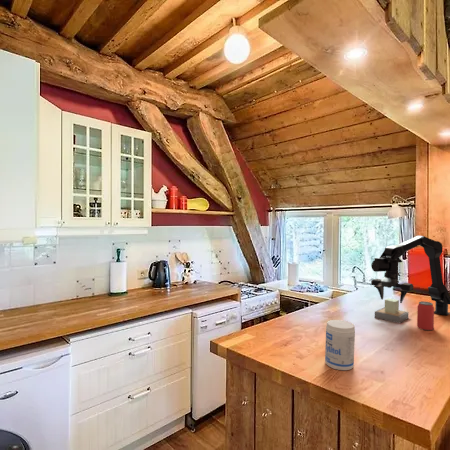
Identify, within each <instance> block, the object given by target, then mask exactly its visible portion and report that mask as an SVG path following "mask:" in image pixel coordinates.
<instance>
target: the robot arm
mask: <svg viewBox="0 0 450 450" xmlns="http://www.w3.org/2000/svg"><path fill="white" fill-rule="evenodd" d="M419 246H420V247H421V248H423V250H424V253H425V255H426V256H427V257H428V262H429V270H430V276H431V278H430V279H431V284H430V285H429V286H428V287H427V289H428V295H429V296H430V298H431V301H432V302H435V304H434V306H435V307H434V315H436V314H437V315H441V316H445V317H446V316H449V315H450V312H449V305H450V295H449V291H448V288H447V287H446V285H445V284H444V281H443V274H442V265H441V256H442V254H443V243H442V242H441V241H438V240H434V239H432V238H429V237H427V236H426V235H425V236H424V235H416V236H414V237H412V238H410V239H408V240H406V241H403V242H402V243H399V244H391V245H389V246H386V247H384V249H383V251H382V253H381V255H380V256H379V258H378V257H374V259H373V261H372V263H371V265H370V266H371V269H372V271H373V272H376V273H377V272H384V276H383V277H382V278H374V279H372V280H371V284H370V285H371V286H373V287H374V288H376V290H377V291H378V294H379V296H380V300H384V295H385V291H384V290H385V289H384V288H388V289H390V288H392V287H394V288H400V289H401V290H400V291H399V292H400V297H399V304H402V303H403V301H404V299H405V297H406V295H407V294H408V293H409V292H410V291H412V290H414V284H413V283H408V282H404V283H400V280H399V276H400V273H399V264H400V263H403V261H402V260H401V259H400V257H402V256H403V255H405V252H408V251H410V250H412V249H415V248H416V247H419Z"/></svg>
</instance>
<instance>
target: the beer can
mask: <svg viewBox="0 0 450 450" xmlns="http://www.w3.org/2000/svg"><path fill="white" fill-rule="evenodd" d="M434 311H435V307H434V303H432V302H430V301H419V302H418V305H417V312H416V313H417V314H416V316H417V317H416V320H417V321H416V327H417V328H418V329H420V330H423V331H434V329H435V327H434V326H435V323H434V322H435V313H434Z"/></svg>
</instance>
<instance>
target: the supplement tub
mask: <svg viewBox="0 0 450 450" xmlns="http://www.w3.org/2000/svg"><path fill="white" fill-rule="evenodd" d="M325 326H326V327H325V346H324V347H325V351H324V354H325V355H324V359H325V360H324V361H325V362H324V363H325V365H327V366H328V367H329V368H331V369H334V370H339V371H348V370H352V369H353V368H354V366H355V365H354V364H355V337H356V329H355V324H354V323H352V322H350V321H348V320H343V319H342V320H341V319H331V320H328V321H327V322H326V325H325Z"/></svg>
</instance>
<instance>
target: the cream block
mask: <svg viewBox="0 0 450 450" xmlns="http://www.w3.org/2000/svg"><path fill="white" fill-rule="evenodd" d="M399 304H400V299H394V298H389V297H388V298H386V299H384V307H385V312H389V313H394V314H395V313H397V312H399V310H400V305H399Z"/></svg>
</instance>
